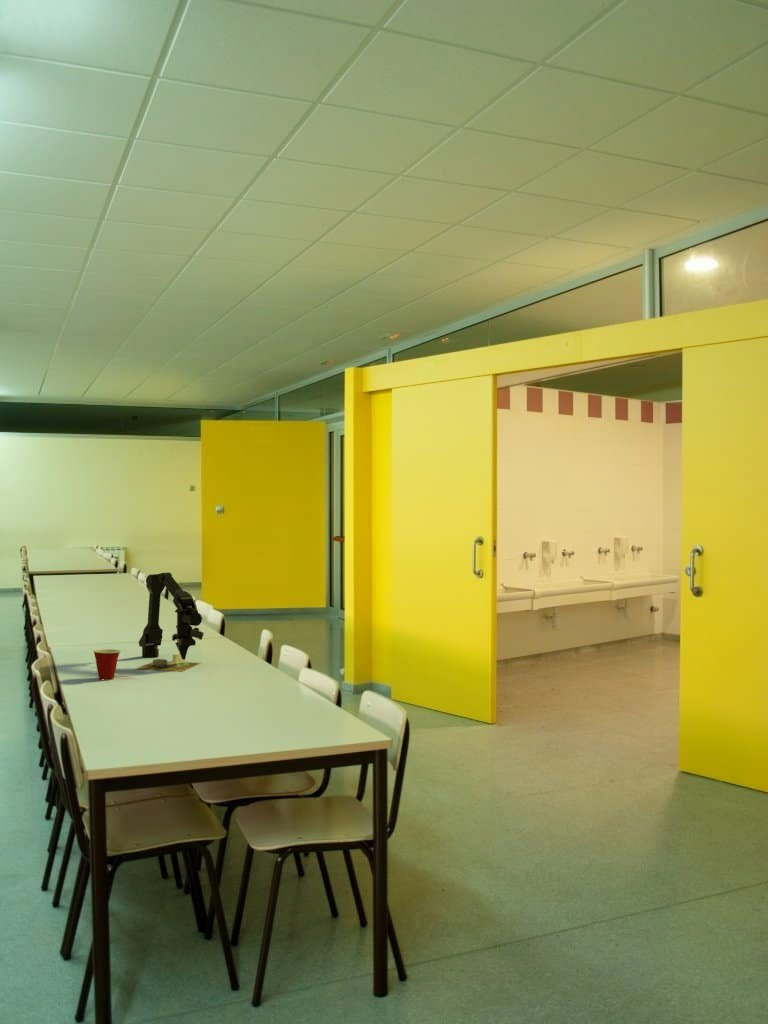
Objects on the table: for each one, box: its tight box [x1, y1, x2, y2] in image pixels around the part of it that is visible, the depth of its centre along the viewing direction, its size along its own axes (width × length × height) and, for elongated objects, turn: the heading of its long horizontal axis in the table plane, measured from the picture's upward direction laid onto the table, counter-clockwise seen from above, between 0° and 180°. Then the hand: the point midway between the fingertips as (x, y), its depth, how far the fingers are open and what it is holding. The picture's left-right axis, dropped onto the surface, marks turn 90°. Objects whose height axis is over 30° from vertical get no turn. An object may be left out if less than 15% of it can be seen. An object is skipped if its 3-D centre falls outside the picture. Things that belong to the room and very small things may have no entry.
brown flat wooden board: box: [135, 660, 202, 673], centre depth 374 cm, size 22×20×1 cm
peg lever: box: [152, 652, 186, 667], centre depth 376 cm, size 15×6×4 cm, turn 136°
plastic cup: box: [93, 648, 122, 681], centre depth 353 cm, size 11×11×12 cm
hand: (183, 659), depth 374 cm, fingers closed
